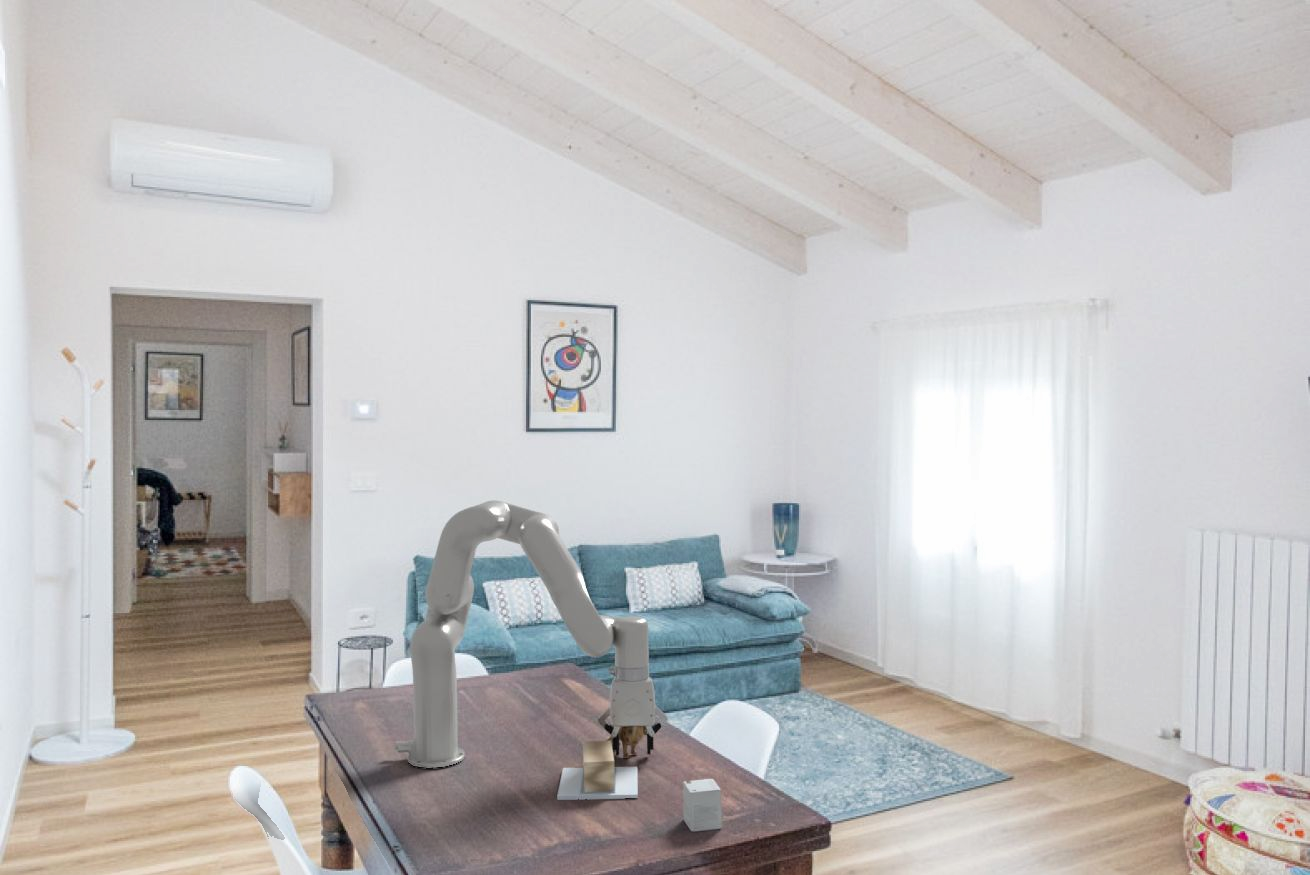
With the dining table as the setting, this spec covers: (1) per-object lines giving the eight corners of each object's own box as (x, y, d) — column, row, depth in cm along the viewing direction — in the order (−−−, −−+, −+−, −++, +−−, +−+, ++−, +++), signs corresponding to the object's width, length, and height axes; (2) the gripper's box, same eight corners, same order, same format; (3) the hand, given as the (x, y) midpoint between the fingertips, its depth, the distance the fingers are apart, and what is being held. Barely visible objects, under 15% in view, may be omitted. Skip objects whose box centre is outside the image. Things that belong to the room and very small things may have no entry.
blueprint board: (557, 800, 196) (557, 795, 196) (563, 771, 212) (563, 767, 212) (637, 798, 197) (637, 793, 197) (637, 770, 213) (637, 765, 213)
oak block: (584, 792, 198) (584, 762, 198) (583, 769, 211) (582, 741, 210) (614, 790, 198) (614, 761, 198) (611, 768, 211) (610, 740, 211)
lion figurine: (652, 758, 220) (652, 718, 220) (633, 763, 217) (633, 722, 217) (614, 741, 232) (613, 703, 231) (595, 746, 228) (594, 708, 228)
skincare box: (722, 829, 182) (722, 789, 181) (690, 832, 180) (690, 792, 180) (713, 816, 187) (713, 777, 187) (682, 819, 186) (682, 780, 186)
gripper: (592, 678, 216) (593, 759, 217) (671, 676, 217) (672, 757, 217) (594, 669, 224) (595, 748, 224) (670, 668, 224) (671, 746, 224)
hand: (633, 752), depth 221 cm, fingers closed on lion figurine, 6 cm apart
